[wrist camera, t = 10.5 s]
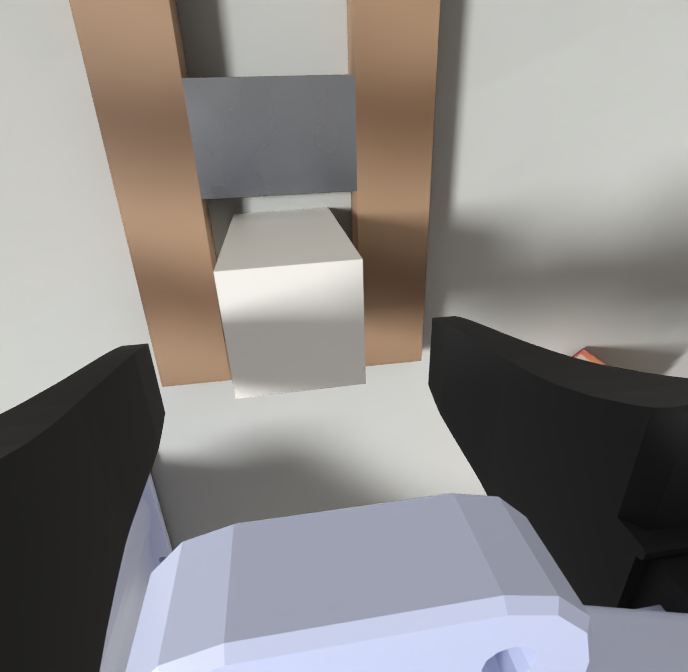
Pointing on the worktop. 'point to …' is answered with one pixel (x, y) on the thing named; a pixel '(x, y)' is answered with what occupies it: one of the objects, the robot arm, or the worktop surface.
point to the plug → (291, 303)
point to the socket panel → (265, 164)
